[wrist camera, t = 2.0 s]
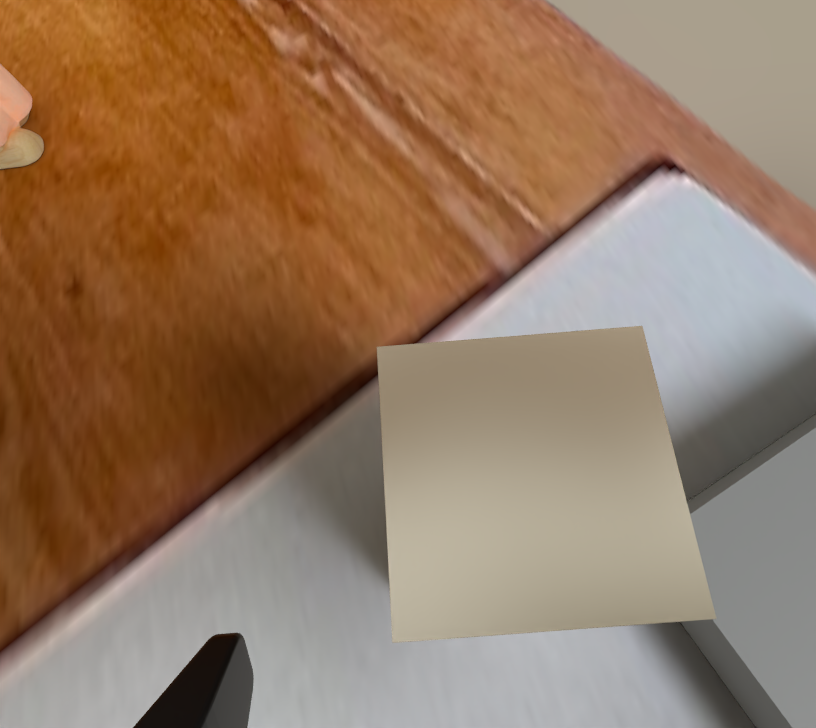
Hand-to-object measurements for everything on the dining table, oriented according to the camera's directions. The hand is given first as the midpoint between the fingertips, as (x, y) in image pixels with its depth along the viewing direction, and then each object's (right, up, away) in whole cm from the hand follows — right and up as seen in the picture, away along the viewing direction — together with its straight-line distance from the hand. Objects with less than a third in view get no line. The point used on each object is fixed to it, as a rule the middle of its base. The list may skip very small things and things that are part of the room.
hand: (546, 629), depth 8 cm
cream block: (0, -2, +11) cm, 11 cm away
